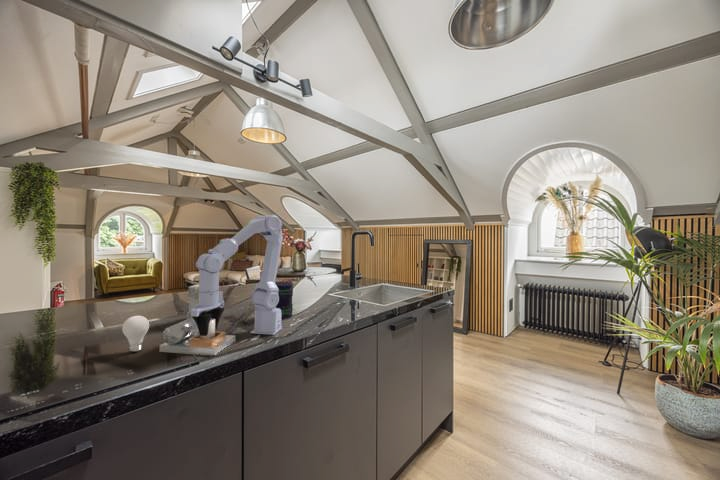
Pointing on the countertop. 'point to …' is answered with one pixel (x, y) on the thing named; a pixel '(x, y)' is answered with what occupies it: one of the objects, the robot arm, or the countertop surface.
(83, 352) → the countertop surface
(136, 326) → the light bulb
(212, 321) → the white bottle
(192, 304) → the circuit breaker
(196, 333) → the white rectangular base assembly
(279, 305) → the storage jar
